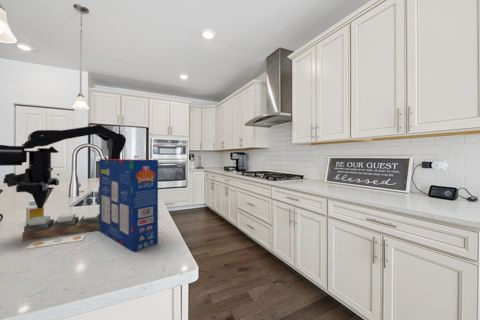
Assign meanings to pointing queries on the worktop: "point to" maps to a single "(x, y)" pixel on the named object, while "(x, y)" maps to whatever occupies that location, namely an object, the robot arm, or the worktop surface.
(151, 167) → the blue cardboard box
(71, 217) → the key middle
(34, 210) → the supplement bottle
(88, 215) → the key
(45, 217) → the key
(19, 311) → the worktop surface
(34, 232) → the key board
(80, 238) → the pattern card
